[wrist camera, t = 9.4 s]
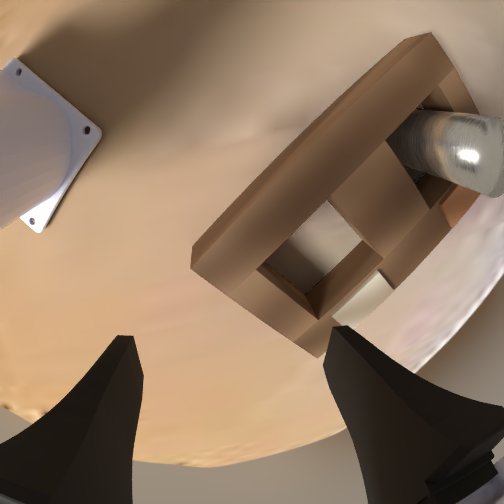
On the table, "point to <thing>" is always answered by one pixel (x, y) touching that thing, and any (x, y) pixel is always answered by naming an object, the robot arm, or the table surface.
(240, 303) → the socket board
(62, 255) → the table surface
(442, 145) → the steel peg
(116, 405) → the robot arm
